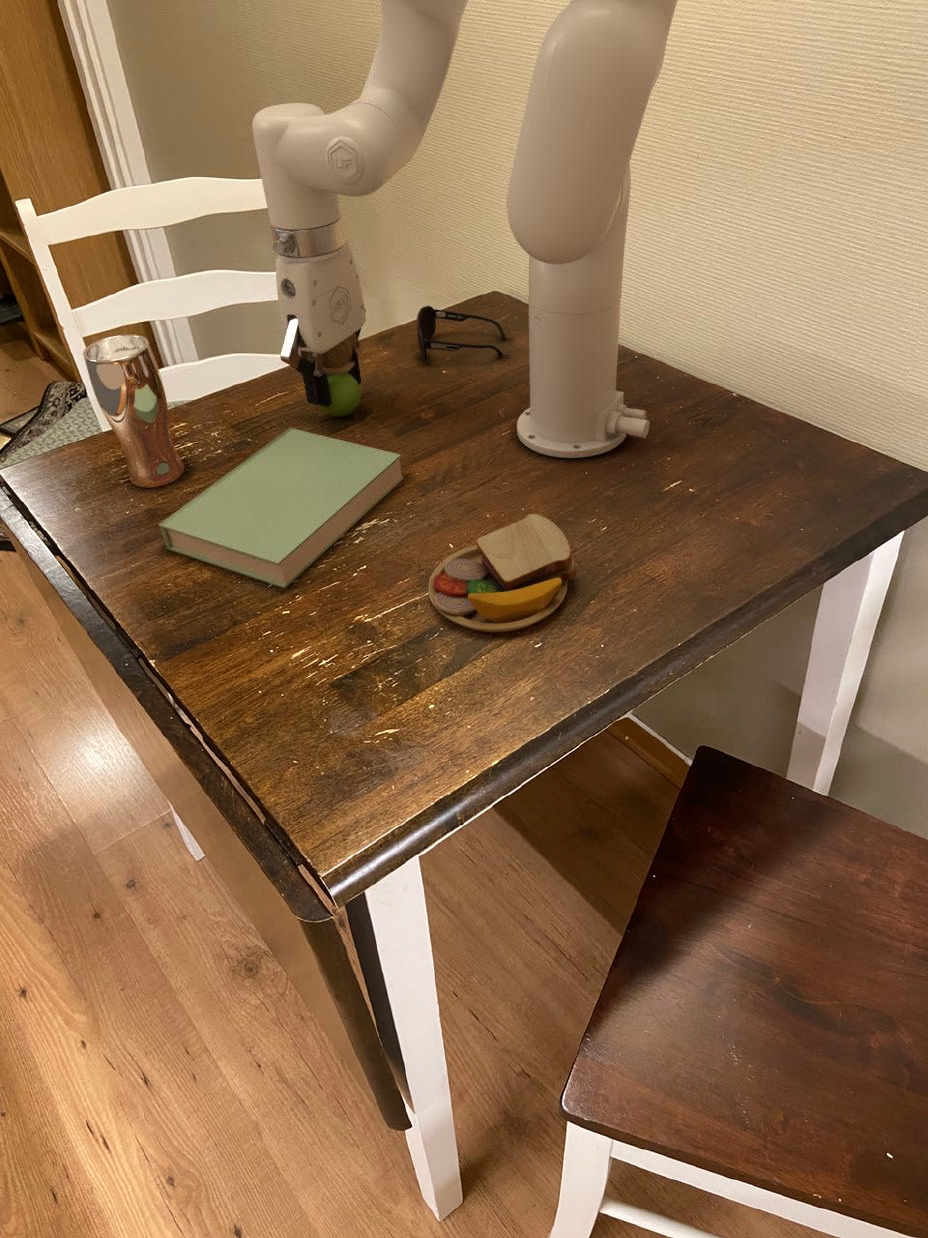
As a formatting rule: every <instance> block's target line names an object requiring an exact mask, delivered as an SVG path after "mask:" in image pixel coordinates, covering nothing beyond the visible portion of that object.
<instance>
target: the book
mask: <svg viewBox="0 0 928 1238" xmlns="http://www.w3.org/2000/svg"><path fill="white" fill-rule="evenodd" d="M401 458H402V454H401V453H396V452H391V451H387V450H383V449H380V448H375V447H371V446H366V445H362V444H359V443H354V442H350V441H346V440H343V439H342V440H341V439H339V438H338V439H337V438H334V437H329V436H325V435H321V434H317V433H313V432H308V431H304V430H300V429H296V428H293V427H288V429H286V430H285V431H284V432H282V433H281V434H279V435H278V436H277V437H275V438H274V439H272V441H270V442H269V443H267V444H266V445H264V446H263V447H262V448H261V449H259V450H258V451H256V452H254V454H252V455H251V456H249V457H248V458H247V459H245V460H244V461H242V463H240V464H239V465H237V466H236V467H235V468H233V469H232V470H231V471H229V472H228V473H227V474H225V475H224V476H222V477H221V478H220V479H218V480H217V481H216V482H214V483H213V484H211V485H210V486H209V487H207V488H206V489H205V490H203V491H202V492H201V493H199V494H197V496H194V498H193V499H191V500H190V501H188V502H187V503H185V504H184V505H183V506H181V507H180V508H179V509H178V510H176V511H175V512H174V513H172V514H171V515H169V516H168V517H166V519H164V520H162V521H161V522H160V523H158V527H159V529H160V531H161V535H162V538H163V541H164V544H165V547H166V549H167V550H169V551H171V552H175V553H177V554H181V555H183V556H186V557H190V558H193V559H195V560H198V561H202V562H204V563H207V564H210V565H213V566H217V567H219V568H222V569H225V570H228V571H231V572H234V573H236V574H240V575H243V576H246V577H249V578H252V579H254V580H258V581H261V582H263V583H267V584H269V585H272V586H276V587H278V588H281V589H286V588H287V587H288V586H289V585H290V584H291V583H293V582H294V580H296V579H297V578H298V577H299V576H300V575H301V574H303V573H304V571H305V570H306V569H307V568H309V567H310V566H311V565H312V564H313V563H314V562H315V561H317V559H318V558H319V557H321V556H322V555H323V554H324V553H325V552H326V551H327V550H328V549H329V548H331V546H332V545H334V544H335V543H336V542H337V541H338V540H339V539H340V538H341V537H342V536H344V535H345V533H346V532H348V531H349V530H350V529H351V528H352V527H353V526H354V525H356V523H358V522H359V521H360V520H361V519H362V518H363V517H364V516H365V515H366V514H367V513H368V512H370V511H371V509H373V508H374V507H375V506H376V505H377V504H379V502H380V501H381V500H383V498H384V497H386V496H387V495H388V494H390V492H391V491H392V490H394V488H395V487H397V486H398V485H399V484H400V483H401V482H402V481H403V480H404V478H405V477H404V476H403V474H402V467H401Z"/></svg>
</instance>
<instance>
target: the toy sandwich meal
mask: <svg viewBox="0 0 928 1238" xmlns="http://www.w3.org/2000/svg"><path fill="white" fill-rule="evenodd" d="M570 545H571V544H570V542H569V540H568V538H567V537H566V535H565V534H564V532H563V531H562V529H560V527H559V526H558V525H556V523H554V522H553V521H552V520H550V519H549V518H548V517H546V516H543V515H541V514H539V513H529V514H527V515H526V516H525V517H524V518H523V519H521V520H518V521H516V522H513V523H512V524H509V525H506V526H504V527H502V528H499V529H496V530H494V531H492V532H489V533H487V534H485V535H483V536H480V537H478V538H476V540H475V544H474V545H471V546H468V547H465V548H462V549H459V550H458V551H456V552H454V553H452V554H450V555H449V556H447V557H446V558H444V559H443V560H442V561H441V562H440V563H439V564H438V565H437V566H436V567H435V568H434V569H433V571H432V573H431V575H430V576H429V580H428V584H427V592H428V596H429V599H430V602H431V603H432V605H433V607H434V608H435V609H436V610H437V611H438V612H439V613H440V614H441V615H442V616H444V617H445V618H446V619H448V620H449V621H451V622H453V623H455V624H457V625H460V626H462V627H465V628H467V629H471V630H473V631H478V632H483V633H485V632H486V633H505V632H507V633H508V632H513V631H517V630H521V629H524V628H527V627H530V626H532V625H534V624H536V623H538V622H540V621H542V620H543V619H545V618H547V617H549V616H550V615H551V614H552V613H553V612H554V611H555V610H556V609H558V607H559V606H560V605H561V604H562V603H563V601H564V599H565V597H566V594H567V591H568V581H571V580H573V579H575V577H576V575H577V567H576V562H575V561H576V560H575V558H574V556H573V553H572V552H571V551H572V550H571V546H570Z"/></svg>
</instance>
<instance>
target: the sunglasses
mask: <svg viewBox="0 0 928 1238" xmlns="http://www.w3.org/2000/svg"><path fill="white" fill-rule="evenodd" d="M436 319H442V320H448V321H453V322H454V321H455V322H464V321H466V320H468V319H474V320H479V321H480V320H481V321H485V322H488V323H492V324H493V325H495V326H496V327H497V329H498V330H499V333H500V338H501V340H503V341H505V340H506V334H505V332H504V330H503V328H502V327H501V325H500V324H499V323H498V322H497V321H496V320H494V319H492V318H488V317H485V316H479V315H474V314H467V313H460V312H454V311H448V310H441V309H438V308H437V309H436V308H434V307H432V306H430V305H425V306H422V307H421V308H420V309H419V311H418V313H417V316H416V330H417V331H416V332H417V343H418V347H419V351H420V354H421V357H422V360H423V361H426V360H428V352H427V350H438V351H449V352H457V351H458V350H460V349H463V348H468V349H492V350H494V351H495V352H496V353H497V357H498V358H500V359H501V358H502V357H503V356H504V354H503V352H502V351H501V350H500V349H499V348H498V347H496V346H494V345H491V344H468V343H461V342H460V343H459V342H451V341H441V340H434V339H433V340H432V338H433V337H434V336H435V333H436V321H437V320H436Z"/></svg>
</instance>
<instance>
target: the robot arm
mask: <svg viewBox="0 0 928 1238" xmlns="http://www.w3.org/2000/svg"><path fill="white" fill-rule="evenodd" d="M678 1H679V0H570V2H569V3H568V5H567V6H566V7H565V8H563V10H562V11H561V12H560V13H559V14H557V16H556V17H555V19H554V20H553V22H552V23H551V25H550V26H549V28H548V29H547V31H546V33H545V35H544V37H543V40H542V42H541V45H540V48H539V51H538V54H537V57H536V59H535V60H536V61H535V64H534V69H533V72H532V76H531V81H530V85H529V89H528V95H527V99H526V103H525V109H524V112H523V118H522V122H521V126H520V131H519V137H518V141H517V146H516V150H515V155H514V160H513V163H512V169H511V173H510V178H509V183H508V188H507V196H506V213H507V214H506V215H507V221H508V224H509V227H510V230H511V232H512V235H513V237H514V238H515V240H516V242H517V243H518V245H519V246H520V247H521V249H522V250H523V251H524V252H525V253H526V254H528V351H529V352H528V357H529V359H528V361H529V362H528V363H529V364H528V365H529V407H528V408H527V409H525V410H524V411H523V412H522V413H521V414H520V415H519V417H518V419H517V421H516V435H517V437H518V439H519V441H520V442H521V443H522V444H523V445H524V446H526V448H529V449H530V450H532V451H534V452H536V453H538V454H541V455H545V456H547V457H548V456H549V457H554V458H558V459H559V458H561V459H582V458H590V457H594V456H598V455H601V454H605V453H607V452H609V451H612V450H613V449H615V448H616V447H618V446H619V445H621V444H622V443H623V442H624V440H625V439H626V437H627V435H628V436H632V437H636V438H642V439H645V438H647V436H648V433H649V431H650V420H647V411H646V410H643V409H639V408H629V407H628V406H627V405H626V404H624V398H625V392H624V391H619V390H617V373H618V356H619V337H620V320H621V319H620V318H621V300H622V292H623V278H624V276H623V275H624V261H625V260H624V259H625V247H626V236H627V227H628V217H629V207H630V200H631V199H630V198H631V187H632V186H631V185H632V184H631V183H632V181H631V180H632V179H631V178H632V176H631V175H632V174H631V165H630V162H631V158H632V155H633V153H634V152H633V151H634V149H635V145H636V142H637V138H638V136H639V132H640V129H641V126H642V122H643V118H644V116H645V113H646V110H647V106H648V103H649V99H650V97H651V94H652V91H653V88H654V87H655V85H656V83H657V81H658V79H659V76H660V73H661V71H662V68H663V64H664V60H665V56H666V55H665V54H666V48H667V42H668V39H669V33H670V29H671V26H672V21H673V18H674V15H675V12H676V7H677V3H678ZM468 2H469V0H380V5H381V26H380V27H381V28H380V32H379V33H380V34H379V38H378V42H377V47H376V50H375V53H374V57H373V60H372V63H371V66H370V69H369V72H368V75H367V77H366V80H365V83H364V87H363V89H362V91H361V94H360V96H359V97H358V98H357V99H355V100H354V101H352V102H351V103H350V104H349V103H348V104H347V105H346V106H345V107H342V108H340V109H338V110H336V111H333V112H331V113H327V114H325V112H324V111H323V110H322V108H320V107H319V106H318V105H315V104H311V103H306V102H291V103H281V104H275V105H270V106H267V107H264V108H262V109H261V110H259V111H258V112H257V113H256V114H255V115H254V117H253V120H252V123H251V125H252V127H251V129H252V135H253V141H254V146H255V151H256V157H257V161H258V167H259V172H260V177H261V183H262V187H263V193H264V197H265V203H266V208H267V212H268V217H269V222H270V228H271V234H272V239H273V243H272V248H273V251H274V252H275V255H276V257H277V258H276V259H275V279H276V280H275V281H276V292H277V301H278V308H279V315H280V321H281V327H282V331H283V335H284V341H283V345H282V348H281V352H280V361H282V362H283V363H285V364H287V365H288V366H290V367H292V368H293V369H295V371H296V372H297V373H298V374H301V375H302V380H303V385H304V389H305V397H306V400H307V402H308V404H311V405H316V406H319V405H320V406H324V407H329V406H330V405H331V396H330V390H329V384H328V379H327V375H326V374H324V373H322V368H323V353H325V352H327V351H329V350H330V349H332V348H333V347H335V346H336V345H338V344H339V343H341V342H342V341H344V340H345V339H348V340H349V341H350V343H351V346H352V357H351V359H350V360H349V362H354V363H355V364H354V366H353V367H352V369H351V370H350V371H348V372H347V373H348V374H350V375H351V376H353V377H354V378H355V380H356V381H357V383H358V385H359V384H361V383H362V376H361V375H362V374H361V370H360V361H359V356H358V355H359V354H358V351H359V349H360V347H361V345H360V341H359V337H360V334H361V331H362V328H363V326H364V325H365V323H366V320H367V319H366V312H367V310H366V307H365V301H364V298H363V290H362V286H361V281H360V277H359V273H358V272H359V271H358V269H357V264H356V261H355V257H354V255H353V251H352V249H351V245H350V244H349V241H348V240H347V239H345V232H344V227H343V219H342V214H341V206H340V200H339V195H340V196H341V195H342V196H345V197H354V198H355V197H365V196H369V195H370V194H373V193H375V192H377V191H378V190H379V189H380V188H382V187H383V186H384V185H385V184H386V183H387V182H388V181H390V180H391V179H392V178H393V177H394V176H395V175H396V174H398V172H399V171H400V170H402V169H403V168H404V167H406V165H407V164H408V163H409V162H410V161H411V160H412V159H413V157H414V156H415V154H416V153H417V152H418V150H419V147H420V145H421V142H422V141H423V138H424V136H425V133H426V131H427V129H428V126H429V123H430V121H431V119H432V117H433V113H434V111H435V108H436V105H437V103H438V101H439V98H440V96H441V94H442V90H443V87H444V85H445V82H446V79H447V75H448V73H449V70H450V66H451V62H452V58H453V53H454V50H455V47H456V44H457V41H458V38H459V33H460V28H461V22H462V19H463V15H464V12H465V10H466V7H467V5H468ZM307 353H313V363H312V362H310V361H309V360H307ZM349 362H348V363H349Z"/></svg>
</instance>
